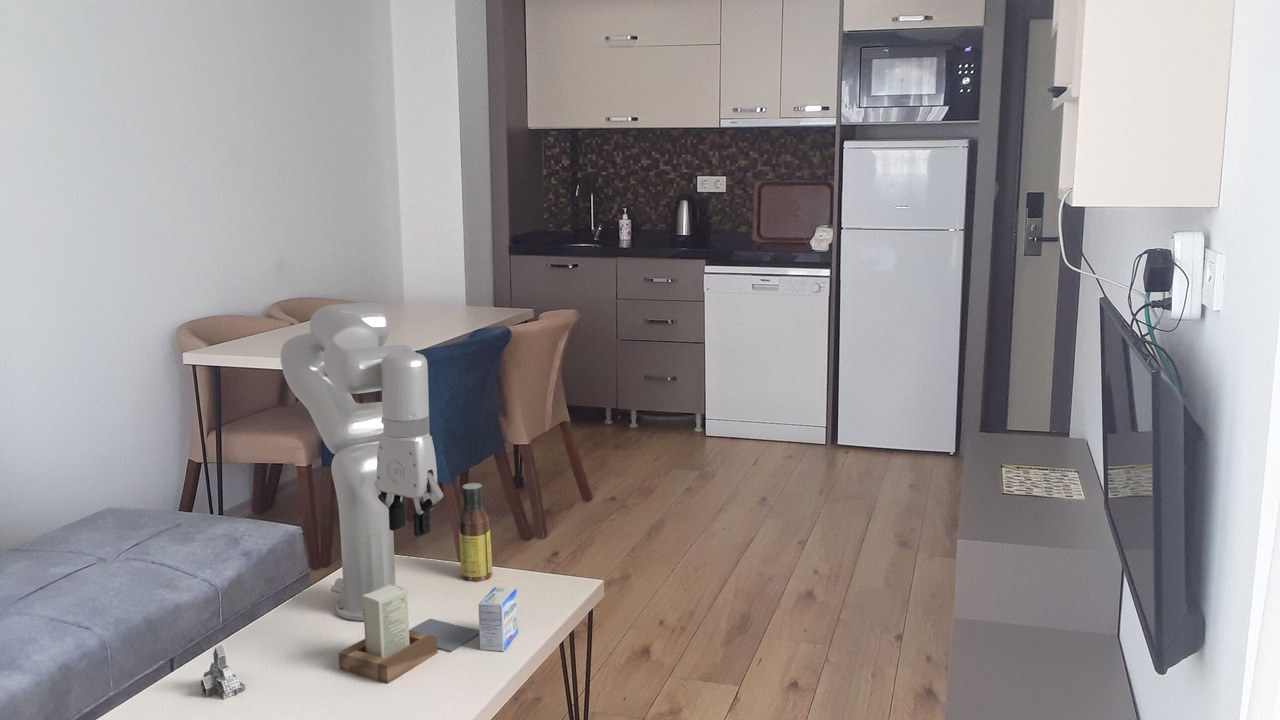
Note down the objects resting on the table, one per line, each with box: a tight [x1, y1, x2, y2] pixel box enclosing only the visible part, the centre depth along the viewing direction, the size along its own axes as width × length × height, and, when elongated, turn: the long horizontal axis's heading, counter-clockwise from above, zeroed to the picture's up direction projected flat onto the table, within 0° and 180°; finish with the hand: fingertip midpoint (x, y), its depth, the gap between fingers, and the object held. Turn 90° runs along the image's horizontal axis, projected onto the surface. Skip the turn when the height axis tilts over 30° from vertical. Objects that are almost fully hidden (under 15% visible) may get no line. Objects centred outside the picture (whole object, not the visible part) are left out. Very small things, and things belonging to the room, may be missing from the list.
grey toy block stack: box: [200, 643, 247, 700], centre depth 165 cm, size 9×9×8 cm
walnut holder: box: [338, 629, 439, 684], centre depth 176 cm, size 10×12×3 cm
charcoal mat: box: [409, 618, 480, 653], centre depth 186 cm, size 12×9×1 cm
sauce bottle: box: [458, 482, 493, 583], centre depth 211 cm, size 7×6×20 cm
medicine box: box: [478, 586, 519, 652], centre depth 183 cm, size 8×4×9 cm, turn 168°
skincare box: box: [363, 584, 410, 658], centre depth 176 cm, size 6×4×12 cm
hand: (409, 530), depth 178 cm, fingers open, 5 cm apart
